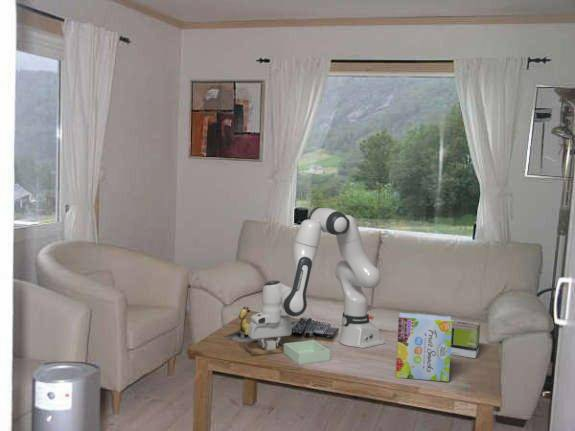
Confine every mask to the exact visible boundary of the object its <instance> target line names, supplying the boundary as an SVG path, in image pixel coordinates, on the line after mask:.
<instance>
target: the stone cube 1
mask: <svg viewBox="0 0 575 431" xmlns="http://www.w3.org/2000/svg"><path fill="white" fill-rule="evenodd" d="M264 343H266V347H264V349H265V350H274V349H276V341H274V340H273V339H272V338H269V339H268V340H264Z"/></svg>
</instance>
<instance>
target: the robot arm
mask: <svg viewBox="0 0 575 431" xmlns="http://www.w3.org/2000/svg"><path fill="white" fill-rule="evenodd" d="M357 224H358V223H357V221H356V219H355V218H354V217H353V216H352V215H350V214H344V213H343V212H341V211H338V210H336V209H334V208H330V207H325V206H317V207H314V208H313V209H312V210H311V211H310V213H309V215H308V216H307V219H304V220H303V221H302V222H301V223H300V225H299V227H298V229H297V232H296V234H295V238H294V241H293V244H292V253H291V254H292V256H291V257H292V259H293V262H294V267H295V273H294V278H293V281H292V282H293V283H292V287H290V286H288V285H286V284H284V283H282V282H281V281H280V280H269V281H267V282H265V283H264V285H263V287H262V292H261V303H262V307H261V311H260V312H258V313H255V314H253V315H250V320H251V321H250V322H249V324H250V325H249V332H248V335H249V339H254V340H255V339H260V341H261V343H262V347H263V348H264V347H266V343H264V341H263V340H264V338H269V339H272V338H275V339H276V346H278V342H280V341H281V337H289V336H291V335H292V333H293V331H292V322H293V321H292V317H299V316H301V315H303V314H304V313H305V312H306V310H307V307H308V305H307V303H308V302H307V297H306V296H307V289H308V284H309V282H310V281H309V280H310V276H311V270H312V267H313V264H314V261H315V258H316V255H317V252H318V248H319V244H320V240H321V237H322V236H323V235H324V233H327V234H331V235H334V236H336V241H337V245H338V250H339V253H340V256H341V257H342V258H343V260H340V261H338V263H337V264H336V265H335V267H334V275H335V277H336V279H337V280H338V281H339V283H340V286H341V289H342V292H343V312H342V316H341V317H342V320H341V321H342V322H341V323H342V324H341V325H342V327H341V332H340V336H339V339H338V342H339V343H340V344H342V345H344V346H348V347H349V346H350V347H355V348H361V349H365V348H371V347H374V346H378V345H383V344H385V343H386V342H385V339H384V338H382V337H381V333H380V332H381V331H380V329H379V328H378V327H377V326H376V325H375V324H373V323H372V321H373V320H374V319H375V316H374V315H372V314H368V313H367V312H368V297H367V295H366V294H365V293H364V291H363V289H362V288H364V289H374V288H377V287H378V286H379V284H380V283H381V280H382V275H381V272H380V270H379V268H377V267H376V265H374V264H373V262H372V261H371V260H370V258H369V257H368V254H367V253H366V251H365V248H364V245H363V241H362V237H361V236H362V235H361V232H360V230H359V227H358V225H357ZM282 310H284V312H285V313H286V315H282ZM370 320H372V321H370Z"/></svg>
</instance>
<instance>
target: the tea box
mask: <svg viewBox="0 0 575 431" xmlns="http://www.w3.org/2000/svg"><path fill="white" fill-rule="evenodd" d="M451 320H452V336H451V353H450V355H452V356H458V357H465V358H470V359H476V358H477V357H478V354H479V348H480V337H481V336H480V331H481V323H480V322H475V321H469V320H468V321H467V320H463V319H462V320H460V319H453V318H451Z"/></svg>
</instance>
